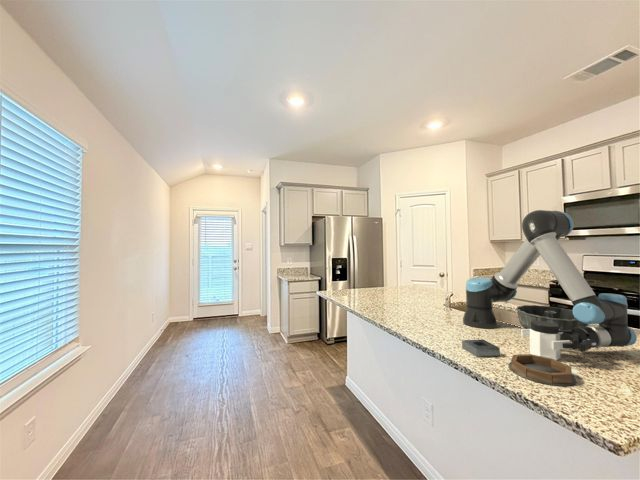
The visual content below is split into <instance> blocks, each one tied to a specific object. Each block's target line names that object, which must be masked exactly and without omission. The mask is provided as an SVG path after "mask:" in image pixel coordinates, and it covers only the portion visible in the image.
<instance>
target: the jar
mask: <svg viewBox="0 0 640 480" xmlns="http://www.w3.org/2000/svg"><path fill="white" fill-rule="evenodd" d="M552 341H561V340H560V332H559V326H558V325H557V324H555V323H551V322H546V321H531V329H530V336H529V354H532V355H537V356H542V357H547V358H552V359H555V360H557V361H559V360H560V359H561V349H558V350H553V349H552Z"/></svg>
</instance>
